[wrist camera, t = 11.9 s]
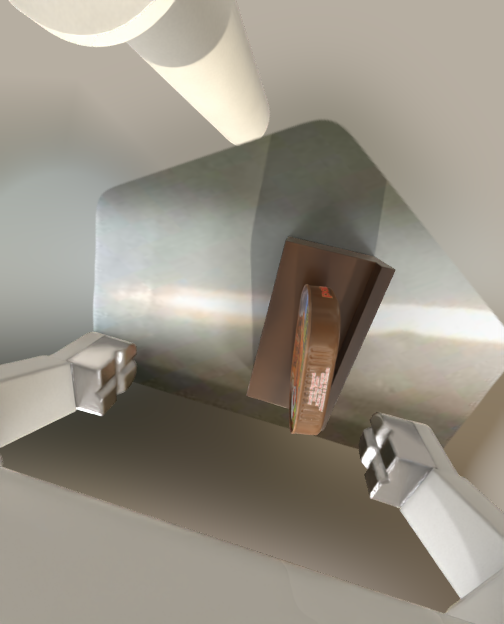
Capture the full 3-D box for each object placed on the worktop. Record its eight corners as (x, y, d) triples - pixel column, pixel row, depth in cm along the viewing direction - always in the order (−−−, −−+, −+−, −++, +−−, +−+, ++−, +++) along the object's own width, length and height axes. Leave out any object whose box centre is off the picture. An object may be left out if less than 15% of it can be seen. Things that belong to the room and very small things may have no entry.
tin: (303, 274, 25) (303, 301, 18) (335, 277, 25) (350, 306, 17) (287, 393, 31) (283, 452, 23) (313, 397, 31) (317, 459, 23)
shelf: (252, 373, 37) (242, 406, 31) (288, 235, 29) (284, 242, 23) (319, 392, 36) (323, 431, 30) (374, 256, 28) (396, 269, 22)
